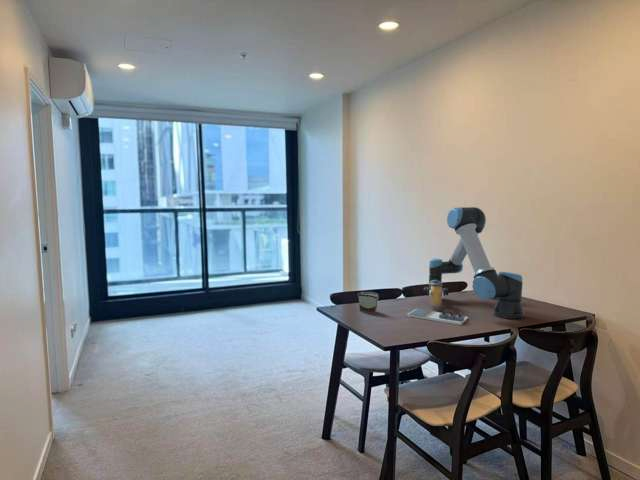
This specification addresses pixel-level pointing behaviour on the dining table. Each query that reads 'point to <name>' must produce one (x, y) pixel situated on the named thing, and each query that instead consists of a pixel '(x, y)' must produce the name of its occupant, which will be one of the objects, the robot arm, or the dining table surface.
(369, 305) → the food container
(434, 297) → the yellow jar
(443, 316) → the board
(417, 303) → the dining table surface
